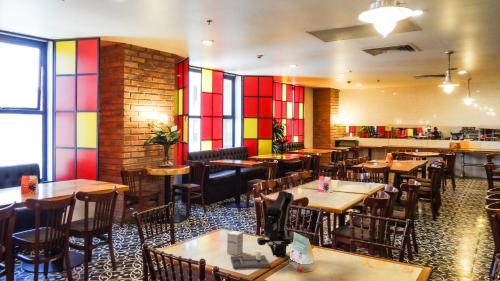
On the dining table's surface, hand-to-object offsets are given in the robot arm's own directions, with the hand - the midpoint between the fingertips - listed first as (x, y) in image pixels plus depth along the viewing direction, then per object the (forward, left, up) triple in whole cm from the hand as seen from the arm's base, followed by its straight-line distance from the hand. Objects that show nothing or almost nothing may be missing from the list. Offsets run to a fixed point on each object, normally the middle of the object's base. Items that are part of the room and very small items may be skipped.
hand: (273, 255), depth 222 cm
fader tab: (+9, 0, -2) cm, 9 cm away
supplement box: (+20, -19, -4) cm, 28 cm away
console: (+14, 0, -4) cm, 15 cm away
